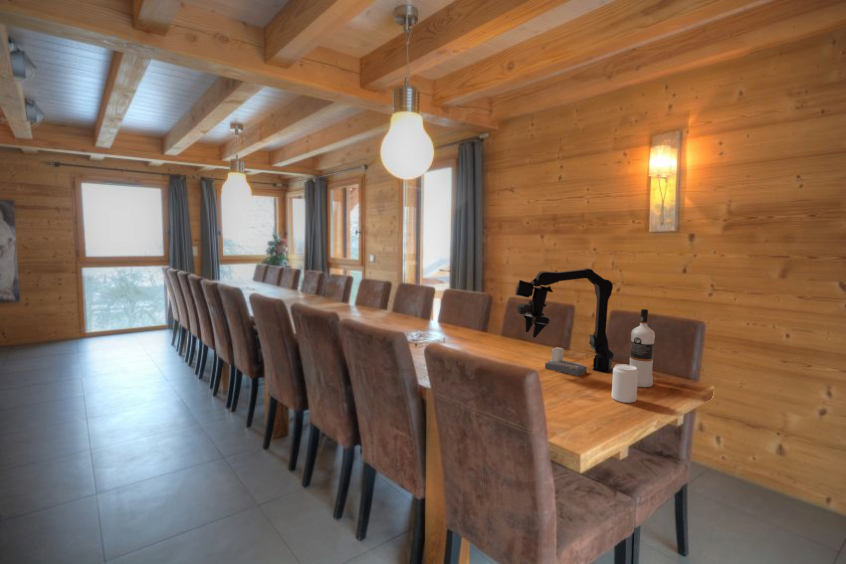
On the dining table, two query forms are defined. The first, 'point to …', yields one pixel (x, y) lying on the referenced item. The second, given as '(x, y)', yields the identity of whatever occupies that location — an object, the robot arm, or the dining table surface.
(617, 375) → the white cylinder
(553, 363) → the fader console
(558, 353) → the fader tab
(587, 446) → the dining table surface
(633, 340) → the vodka
